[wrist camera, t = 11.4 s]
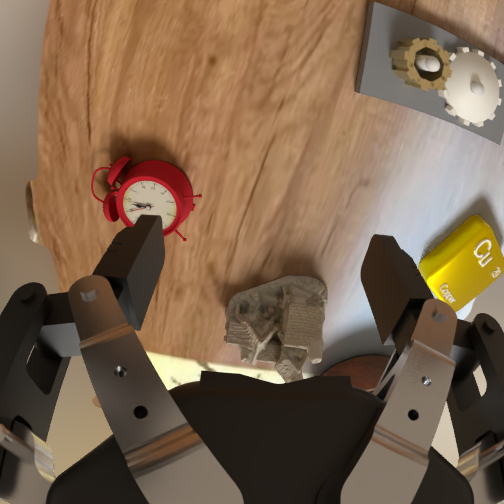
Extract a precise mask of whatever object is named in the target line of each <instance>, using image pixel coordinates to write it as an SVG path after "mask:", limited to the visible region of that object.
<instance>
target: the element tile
mask: <svg viewBox="0 0 504 504" xmlns="http://www.w3.org/2000/svg"><path fill="white" fill-rule="evenodd" d="M418 268H419V271H420V273H421V275H422V276H423V278H424V280H425V282H426V284H427V285H428V287H429V288H430V289H431V290H432V291H433V293H434V294H435V295H436V296H437V298H438V299H439V300H442V301H444V302H445V303H447V304H448V305H449V306H451V307H452V309H453V310H454V311H455V312H457V311H458V310H460V309H461V308H463V307H464V306H465V305H466V304H468V303H469V302H470V301H471V300H473V299H474V298H475V297H476V296H477V295H479V294H480V293H481V292H482V291H483V290H485V289H486V288H487V287H488V286H489V285H490V284H491V283H493V282H494V281H495V280H496V279H497V278H498V277H499V276H501V274H502V273H503V272H504V257H503V254H502V252H501V249H500V247H499V244H498V242H497V239H496V237H495V235H494V232H493V230H492V228H491V227H490V226H489V225H488V224H487V223H486V222H485V221H484V220H483V219H482V218H481V217H480V216H479V215H473V216H471V217H469V218H468V219H467V220H466V221H465V222H464V223H463V224H462V225H461V226H460V227H458V228H457V229H456V230H455V231H454V232H453V233H452V234H451V235H450V236H448V237H447V238H446V239H445V240H444V241H443V242H442V243H440V244H439V245H438V246H437V247H436V248H435V249H433V250H432V251H431V252H430V253H429V254H428V255H426V256H425V257H424V258H423V259H422V260H421V261H420V263H419V266H418Z"/></svg>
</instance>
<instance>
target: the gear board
mask: <svg viewBox="0 0 504 504" xmlns="http://www.w3.org/2000/svg"><path fill="white" fill-rule="evenodd" d="M402 38H432V39H434V40H436V41H437V45H439V46H441V47H442V49H443V50H446V51H447V52H448V54H449V56H450V58H449V59H448V61H449V63H450V67H449V69H450V70H452V74H451V78H447V82H445V83H444V84H443V85H444V88H443V89H441V90H439V91H438V90H434V89H430V88H429V89H428V91H425V90H421V89H418V88H415V87H411V86H409V85H406V84H405V82H406V81H405V80H402V79H401V78H400V77H396V76H395V74H394V73H393V71H392V69H393V68H394V66H393V65H392V60H393V59H392V58H389V56H390V50H394V48H395V46H397V45H398V43H397V41H398V40H400V39H402ZM414 66H415V68H416V70H417V72H418V74H419V76H420V75H422V74H424V73H425V70H426V71H431V72H436V71H438V70H439V68H440V62H439V61H438V59H437V58H435V57H433V56H426V55H423V53H422V52H421V50H419V51H417V52H416V55H415V60H414ZM355 92H358V93H360V94H364V95H368V96H372V97H376V98H379V99H383V100H386V101H390V102H393V103H396V104H399V105H403V106H406V107H409V108H412V109H415V110H418V111H421V112H424V113H426V114H429V115H432V116H435V117H437V118H440V119H442V120H445V121H448V122H450V123H453V124H455V125H457V126H460V127H462V128H465V129H467V130H469V131H471V132H474V133H476V134H478V135H480V136H482V137H485V138H487V139H489V140H491V141H493V142H495V143H497V144H499V145H500V143H501V139H502V136H503V132H504V65H503V64H502V63H500V62H499V61H497V60H496V59H494V58H493V57H491V56H490V55H488V54H486V53H485V52H483V51H482V50H480V49H478V48H476V47H475V46H473V45H471V44H470V43H468V42H466V41H464V40H462V39H461V38H459V37H457V36H455V35H453V34H451V33H449V32H447V31H445V30H443V29H441V28H439V27H437V26H435V25H433V24H430V23H428V22H426V21H424V20H422V19H419V18H417V17H415V16H412V15H410V14H407V13H405V12H402V11H400V10H397V9H394V8H391V7H389V6H386V5H383V4H380V3H377V2H372V3H369V4H368V11H367V18H366V25H365V32H364V38H363V45H362V51H361V57H360V63H359V69H358V74H357V80H356V85H355Z"/></svg>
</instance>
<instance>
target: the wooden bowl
mask: <svg viewBox="0 0 504 504" xmlns="http://www.w3.org/2000/svg"><path fill="white" fill-rule="evenodd" d="M389 360H390V357H387V356H383V355H364V356H358V357H354V358H351V359H348V360H345V361H343V362H340V363H338V364H336V365H334V366H333V367H331V368H330V369H328V370H327V371H326V372H325V373H324V374H322V376H350V379H351V384H352V386H354V387H357V388H361V389H363V390H366V391H368V392H370V393H373V391H374V390H375V388H376V386H377V384H378V382H379V380H380V378H381V376H382V374H383V372H384V370H385V368H386V366H387V364H388V362H389Z"/></svg>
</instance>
